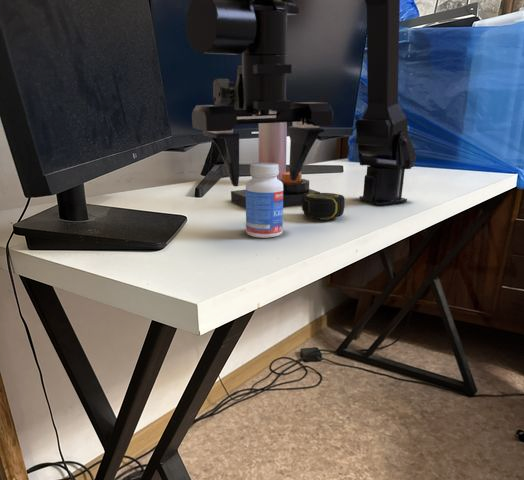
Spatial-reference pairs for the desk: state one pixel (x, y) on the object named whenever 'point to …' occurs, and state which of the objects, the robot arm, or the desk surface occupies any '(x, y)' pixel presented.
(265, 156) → the beverage can
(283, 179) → the button
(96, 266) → the desk surface
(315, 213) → the tape measure
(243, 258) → the desk surface
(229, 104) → the robot arm
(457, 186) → the desk surface
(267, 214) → the pill bottle
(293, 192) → the scale
